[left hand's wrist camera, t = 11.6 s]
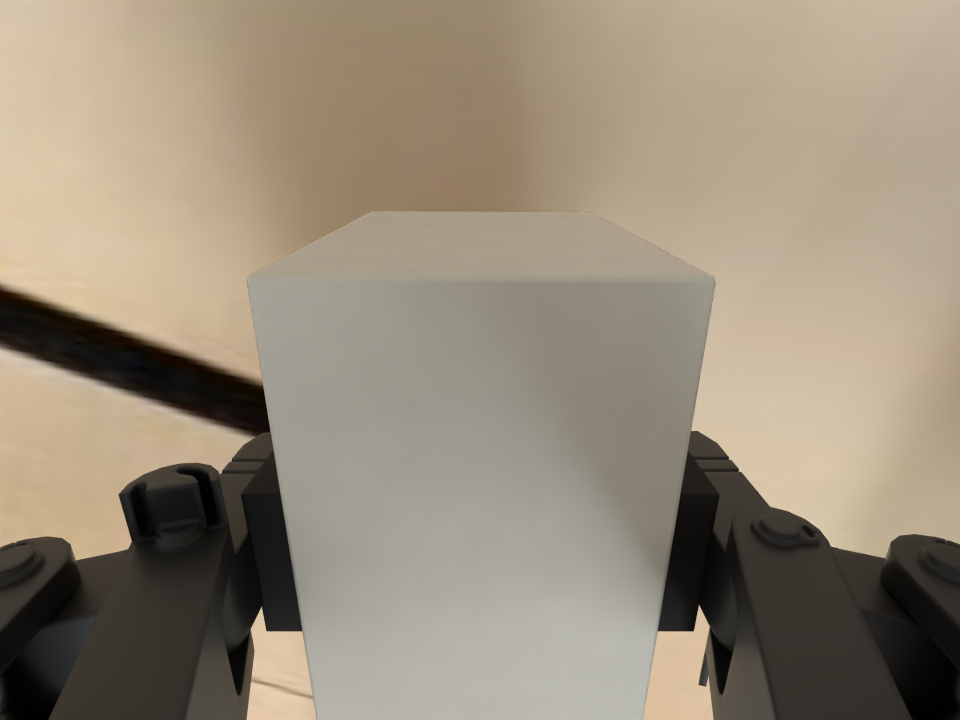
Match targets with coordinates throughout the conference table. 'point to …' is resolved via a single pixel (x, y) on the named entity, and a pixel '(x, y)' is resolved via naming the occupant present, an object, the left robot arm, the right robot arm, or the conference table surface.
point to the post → (480, 458)
